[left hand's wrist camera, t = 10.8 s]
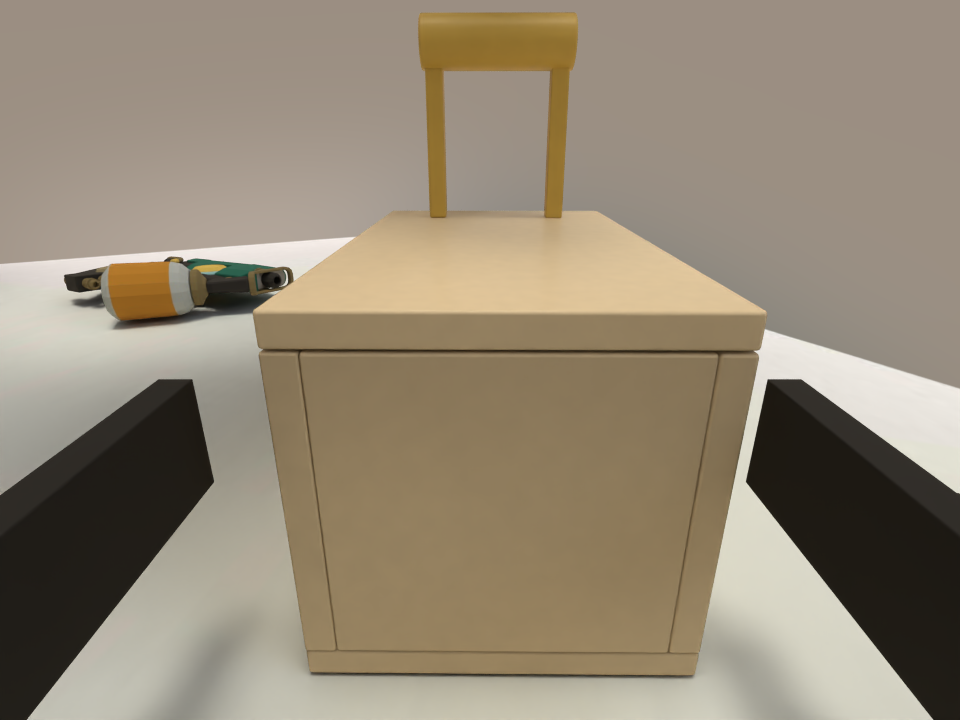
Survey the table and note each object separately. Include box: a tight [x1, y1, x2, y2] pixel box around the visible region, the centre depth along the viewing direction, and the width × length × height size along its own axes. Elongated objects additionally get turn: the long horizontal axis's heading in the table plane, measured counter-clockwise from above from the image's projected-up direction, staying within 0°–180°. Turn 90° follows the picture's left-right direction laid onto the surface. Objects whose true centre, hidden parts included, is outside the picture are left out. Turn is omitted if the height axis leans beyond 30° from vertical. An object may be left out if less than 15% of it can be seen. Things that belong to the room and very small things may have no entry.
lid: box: [253, 13, 767, 351], centre depth 17 cm, size 17×10×8 cm, turn 179°
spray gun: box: [64, 257, 293, 320], centre depth 47 cm, size 4×17×15 cm
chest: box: [259, 349, 759, 675], centre depth 20 cm, size 17×10×9 cm, turn 0°
